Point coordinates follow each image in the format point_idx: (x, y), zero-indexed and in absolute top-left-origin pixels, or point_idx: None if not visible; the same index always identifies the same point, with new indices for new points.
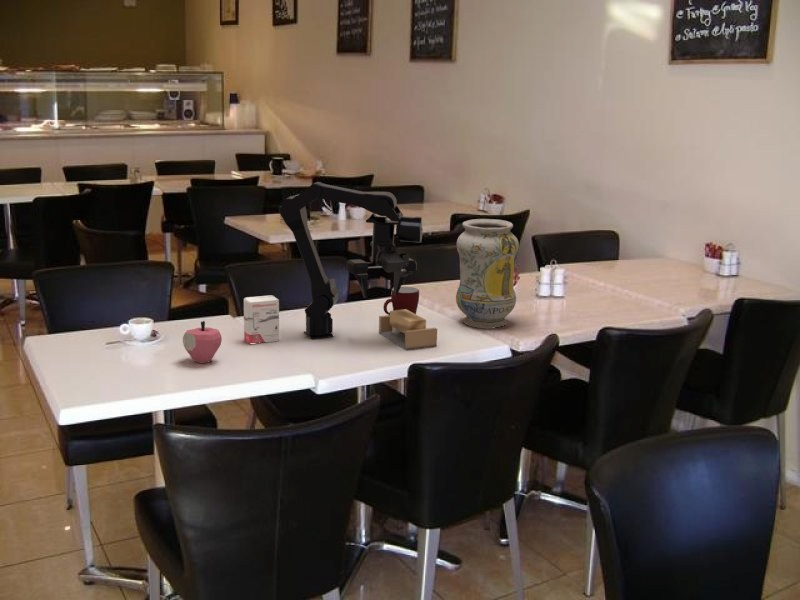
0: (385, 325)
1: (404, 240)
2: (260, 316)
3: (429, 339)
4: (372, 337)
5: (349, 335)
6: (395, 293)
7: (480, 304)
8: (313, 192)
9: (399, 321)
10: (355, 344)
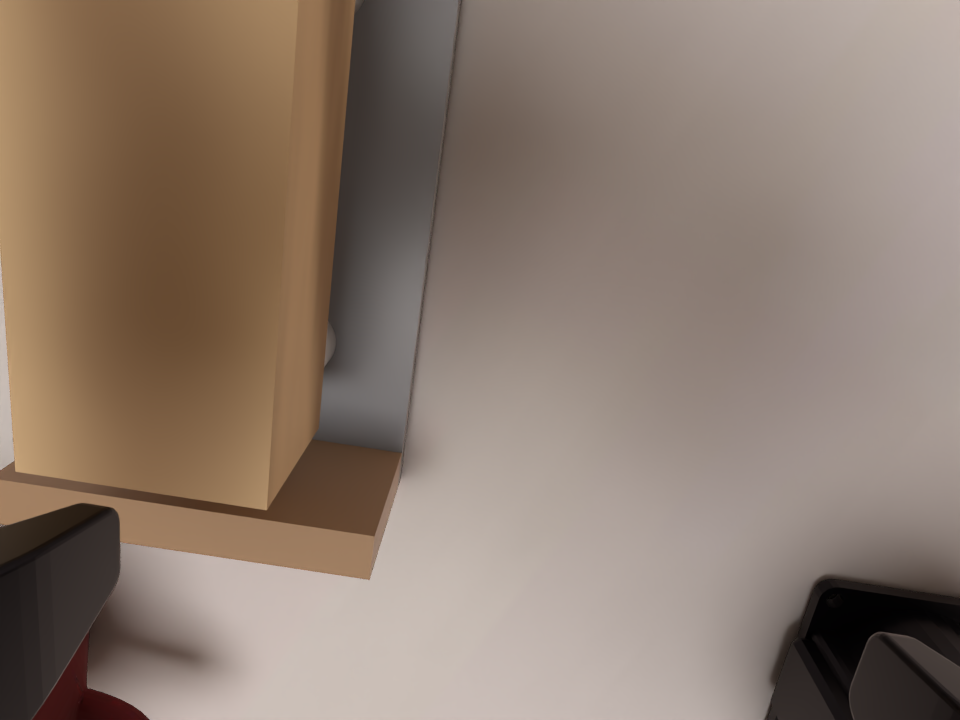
0: (338, 476)
1: None
2: None
3: None
4: (525, 406)
5: (664, 552)
6: (92, 550)
7: None
8: None
9: (309, 191)
10: (804, 299)
